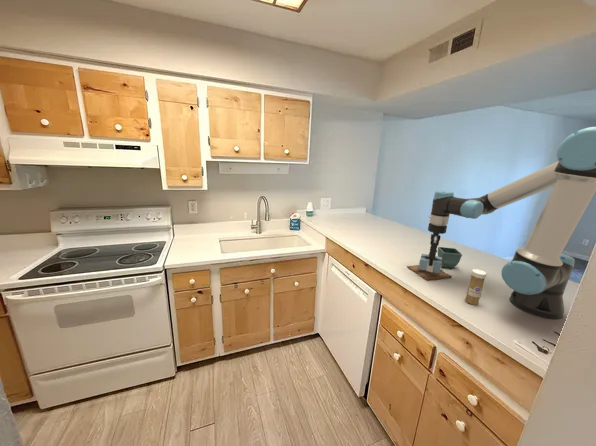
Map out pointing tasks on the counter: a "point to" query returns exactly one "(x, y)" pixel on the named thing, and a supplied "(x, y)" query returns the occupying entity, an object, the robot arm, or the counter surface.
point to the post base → (429, 273)
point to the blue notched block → (425, 260)
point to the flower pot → (449, 256)
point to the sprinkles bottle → (475, 286)
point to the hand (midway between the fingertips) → (429, 267)
